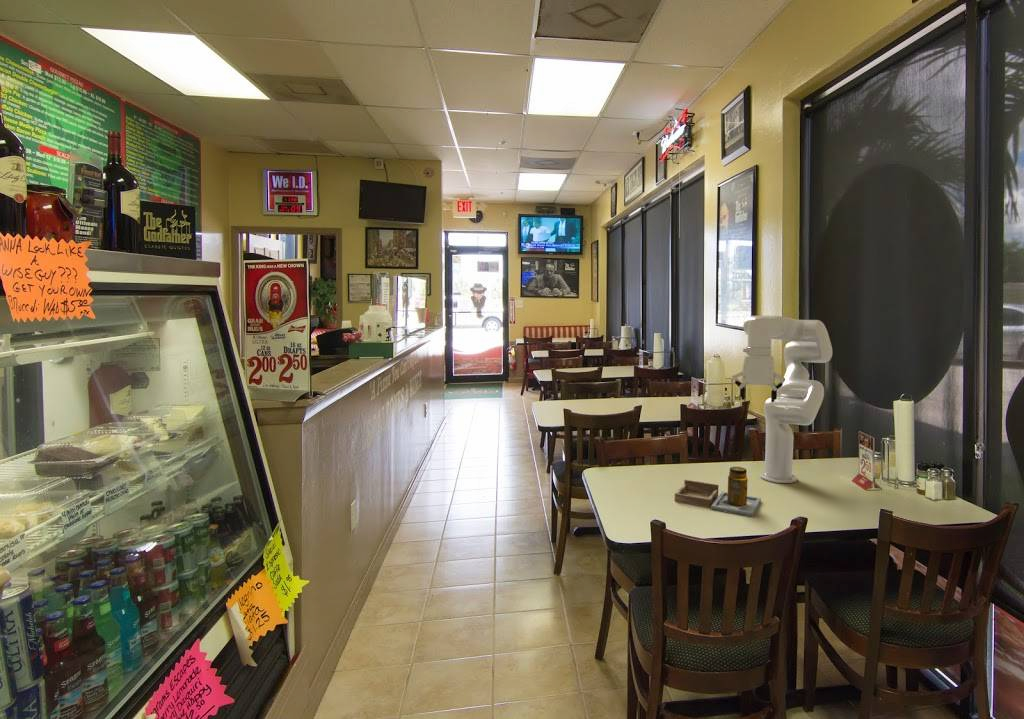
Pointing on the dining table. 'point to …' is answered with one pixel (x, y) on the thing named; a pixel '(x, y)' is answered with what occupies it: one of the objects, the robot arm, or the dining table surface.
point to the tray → (744, 511)
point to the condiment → (737, 488)
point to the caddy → (697, 488)
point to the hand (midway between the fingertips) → (757, 400)
